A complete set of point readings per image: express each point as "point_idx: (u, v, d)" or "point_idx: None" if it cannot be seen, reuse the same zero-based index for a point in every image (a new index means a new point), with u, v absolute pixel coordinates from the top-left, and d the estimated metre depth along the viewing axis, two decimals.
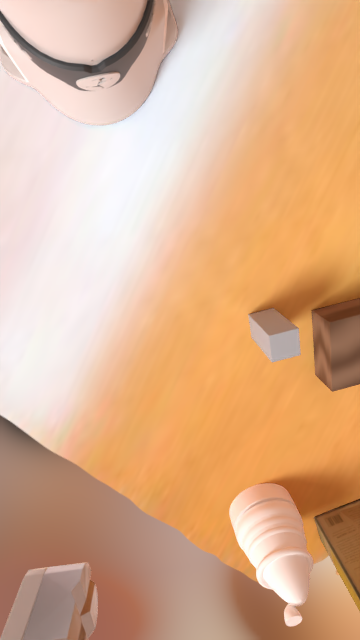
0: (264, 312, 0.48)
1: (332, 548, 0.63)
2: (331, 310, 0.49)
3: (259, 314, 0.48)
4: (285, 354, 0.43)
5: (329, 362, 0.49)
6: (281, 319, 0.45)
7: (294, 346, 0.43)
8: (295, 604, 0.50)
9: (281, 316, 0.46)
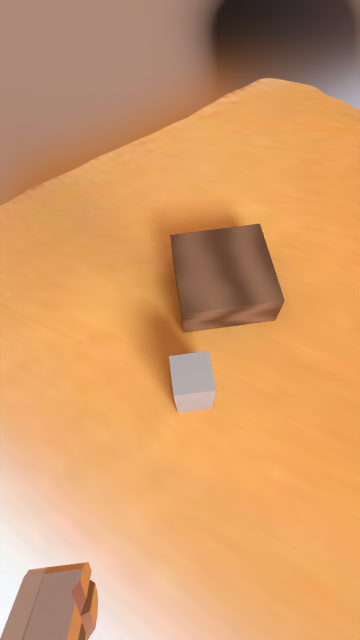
0: None
1: None
2: None
3: None
4: (205, 371, 0.31)
5: (241, 308, 0.38)
6: None
7: (194, 359, 0.32)
8: None
9: None
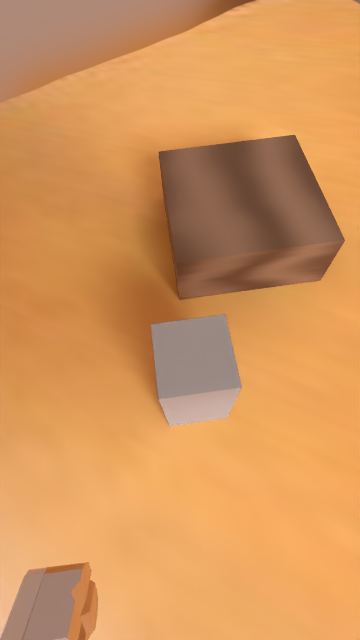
0: None
1: None
2: None
3: None
4: (220, 351, 0.16)
5: (273, 253, 0.23)
6: None
7: (199, 330, 0.17)
8: None
9: None
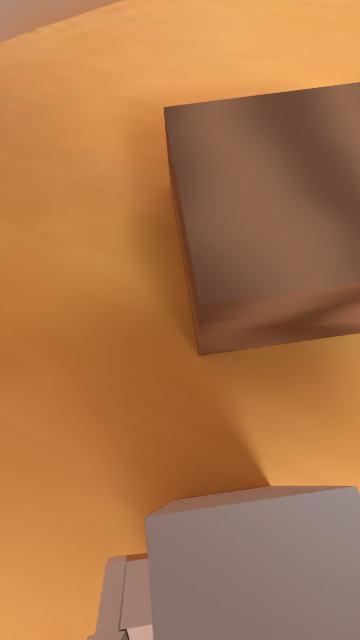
0: None
1: None
2: (191, 299, 0.15)
3: None
4: None
5: None
6: None
7: (288, 545, 0.06)
8: None
9: None
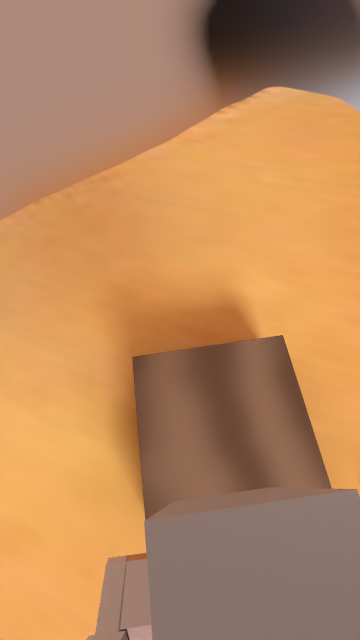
0: None
1: None
2: None
3: None
4: None
5: None
6: None
7: (288, 549, 0.06)
8: None
9: None
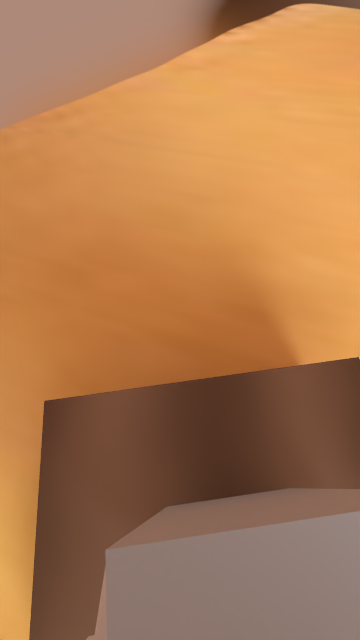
0: None
1: None
2: None
3: None
4: None
5: None
6: None
7: None
8: None
9: None
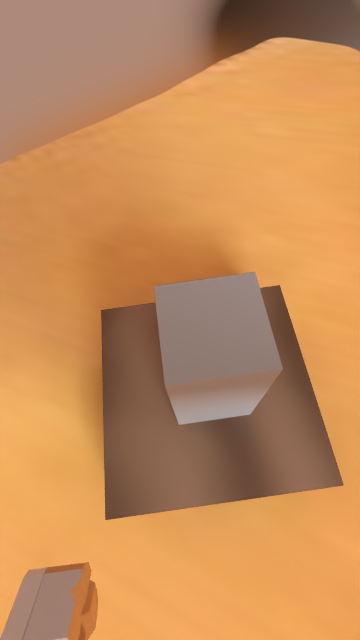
0: None
1: None
2: None
3: None
4: (250, 320, 0.12)
5: (243, 499, 0.17)
6: None
7: (220, 293, 0.12)
8: None
9: None
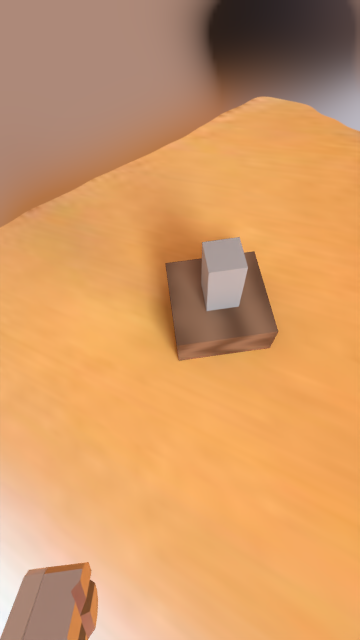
0: (203, 292, 0.40)
1: None
2: None
3: (204, 297, 0.39)
4: (237, 253, 0.34)
5: (235, 338, 0.38)
6: (202, 267, 0.37)
7: (226, 244, 0.34)
8: None
9: (202, 270, 0.38)
